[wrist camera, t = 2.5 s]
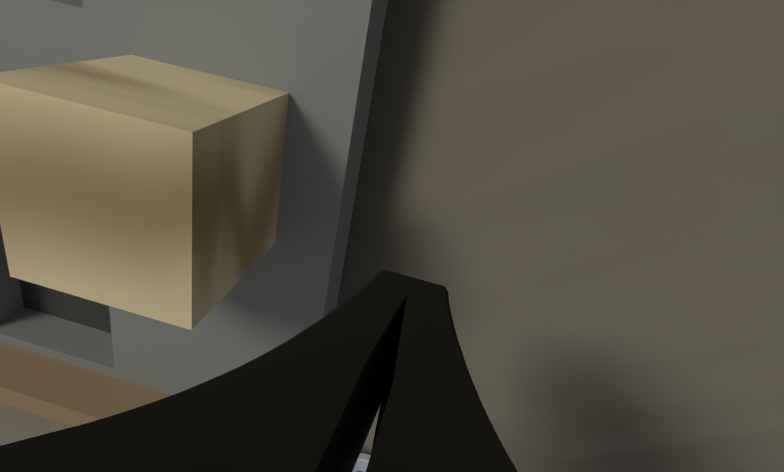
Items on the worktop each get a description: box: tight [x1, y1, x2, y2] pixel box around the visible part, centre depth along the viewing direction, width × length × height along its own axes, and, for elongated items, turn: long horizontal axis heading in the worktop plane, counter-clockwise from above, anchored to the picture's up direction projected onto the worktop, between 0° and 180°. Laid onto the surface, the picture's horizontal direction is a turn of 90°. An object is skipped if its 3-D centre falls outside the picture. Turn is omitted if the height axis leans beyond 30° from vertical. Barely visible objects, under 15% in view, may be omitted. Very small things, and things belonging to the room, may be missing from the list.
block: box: [0, 55, 289, 330], centre depth 13 cm, size 5×5×5 cm
